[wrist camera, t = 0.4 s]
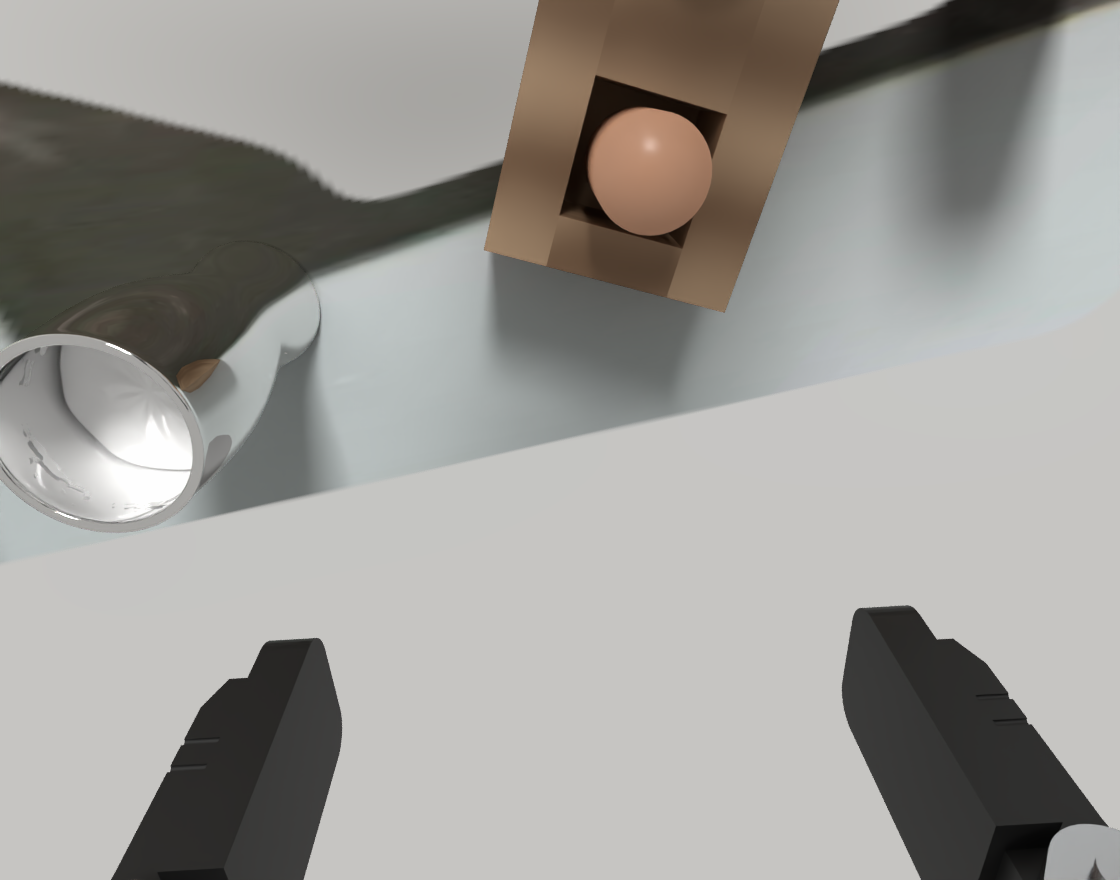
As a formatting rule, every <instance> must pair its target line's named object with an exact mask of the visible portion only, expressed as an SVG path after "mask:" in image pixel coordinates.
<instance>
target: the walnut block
mask: <svg viewBox="0 0 1120 880" xmlns="http://www.w3.org/2000/svg"><path fill="white" fill-rule="evenodd" d="M838 3H839V0H539V3H538V7H537V12H536V16H535V21H534V26H533V30H532V35H531V39H530V44H529V48H528V53H527V57H526V62H525V67H524V71H523V75H522V80H521V84H520V89H519V93H518V98H517V103H516V107H515V112H514V116H513V121H512V125H511V130H510V134H509V139H508V143H507V148H506V152H505V157H504V161H503V166H502V170H501V175H500V179H499V184H498V188H497V193H496V197H495V202H494V207H493V211H492V216H491V220H490V225H489V229H488V234H487V238H486V243H485V247H484V250H485V251H489V252H493V253H497V254H501V255H504V256H508V257H512V258H516V259H520V260H524V261H528V262H531V263H535V264H539V265H543V266H547V267H551V268H554V269H558V270H562V271H566V272H570V273H574V274H578V275H581V276H585V277H589V278H593V279H597V280H601V281H605V282H608V283H612V284H616V285H620V286H624V287H628V288H632V289H635V290H639V291H643V292H647V293H651V294H655V295H659V296H662V297H666V298H670V299H674V300H678V301H682V302H686V303H689V304H693V305H697V306H701V307H705V308H709V309H712V310H716V311H720V312H724V313H725V310H726V307H727V305H728V302H729V299H730V296H731V294H732V291H733V288H734V286H735V283H736V280H737V277H738V275H739V272H740V269H741V266H742V264H743V261H744V258H745V256H746V253H747V250H748V247H749V245H750V242H751V239H752V237H753V234H754V231H755V228H756V226H757V223H758V220H759V218H760V215H761V212H762V209H763V207H764V204H765V201H766V199H767V196H768V193H769V190H770V188H771V185H772V182H773V179H774V177H775V174H776V171H777V169H778V166H779V163H780V160H781V158H782V155H783V152H784V150H785V147H786V144H787V141H788V139H789V136H790V133H791V131H792V128H793V125H794V122H795V120H796V117H797V114H798V112H799V109H800V106H801V103H802V101H803V98H804V95H805V93H806V90H807V87H808V84H809V82H810V79H811V76H812V73H813V71H814V68H815V65H816V63H817V60H818V57H819V54H820V52H821V49H822V46H823V43H824V41H825V38H826V35H827V33H828V30H829V27H830V25H831V21H832V19H833V16H834V14H835V11H836V8H837V6H838ZM635 106H642V107H649V108H653V109H658V110H663V111H668V112H672V113H675V114H677V115H680V116H682V117H683V118H685V119H687V120H688V121H689V122H691V123H692V124H693V125H694V126H695V127H696V128H697V129H698V130H699V131H700V133H701V134H702V135H703V137H704V139H705V141H706V143H707V145H708V148H709V150H710V155H711V159H712V179H711V184H710V188H709V191H708V194H707V196H706V199H705V201H704V202H703V204H702V206H701V207H700V209H699V210H698V212H697V213H696V214H695V215H694V216H693V217H692V218H691V219H690V220H689V221H688V222H686V223H685V224H684V225H682V226H681V227H679V228H677V229H675V230H673V231H671V232H668V233H665V234H660V235H652V236H648V235H639V234H635V233H632V232H629V231H627V230H625V229H623V228H621V227H620V226H618V225H617V224H615V223H614V222H613V221H612V220H611V219H610V218H609V217H608V215H607V214H606V213H605V211H604V210H603V208H602V207H601V205H600V203H599V201H598V200H597V198H596V196H595V194H594V193H593V191H592V189H591V187H590V185H589V183H588V179H587V176H586V170H585V155H586V150H587V146H588V143H589V141H590V138H591V136H592V134H593V133H594V131H595V130H596V128H597V127H598V126H599V124H600V123H601V122H602V121H603V120H604V119H606V118H607V117H608V116H610V115H611V114H613V113H614V112H616V111H618V110H621V109H624V108H628V107H635Z"/></svg>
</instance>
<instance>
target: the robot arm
mask: <svg viewBox="0 0 1120 880" xmlns="http://www.w3.org/2000/svg"><path fill="white" fill-rule="evenodd" d="M842 698H843V705H844V711H845V714H846V718H847V721H848V724H849V727H850V729H851V731H852V733H853V735H854V738H855V739H856V742H857V744H858V746H859V748H860V750H861V752H862V754H863V757H864V759H865V761H866V763H867V765H868V767H869V770H870V772H871V774H872V776H873V778H874V780H875V782H876V784H877V786H878V788H879V791H880V793H881V795H882V797H883V799H884V802H885V803H886V806H887V808H888V810H889V812H890V814H891V816H892V819H893V821H894V823H895V825H896V827H897V829H898V831H899V833H900V836H901V838H902V840H903V842H904V844H905V846H906V848H907V850H908V853H909V855H910V857H911V859H912V861H913V863H914V865H915V867H916V870H917V872H918V874H919V876H920V878H921V880H1120V831H1119V830H1117V829H1114V828H1109V827H1108V825H1107V824H1106V823H1105V822H1104V821H1103V820H1102V818H1101V817H1100V816H1099V814H1098V813H1097V811H1096V810H1095V809H1094V807H1093V806H1092V805H1091V804H1090V802H1089V801H1088V799H1087V798H1086V797H1085V795H1084V794H1083V793H1082V792H1081V790H1080V789H1079V787H1078V786H1077V785H1076V783H1075V782H1074V781H1073V779H1072V778H1071V777H1070V775H1069V774H1068V773H1067V771H1066V770H1065V769H1064V767H1063V766H1062V765H1061V763H1060V762H1059V761H1058V759H1057V758H1056V757H1055V755H1054V754H1053V752H1052V751H1051V750H1050V748H1049V747H1048V746H1047V744H1046V743H1045V742H1044V740H1043V739H1042V738H1041V736H1040V735H1039V734H1038V732H1037V731H1036V730H1035V728H1034V727H1033V726H1032V725H1031V724H1030V725H1029V724H1028V723H1027V718H1026V716H1025V715H1024V714H1023V712H1022V711H1021V709H1020V708H1019V707H1018V705H1017V704H1016V703H1015V701H1014V700H1013V699H1009V697H1008V692H1007V691H1006V689H1005V688H1004V687H1003V685H1002V684H1001V683H1000V681H999V680H998V679H997V677H996V676H995V675H994V673H993V672H992V671H991V669H990V668H989V667H988V665H987V664H986V663H985V662H984V661H982V660H981V659H979V658H978V657H977V656H975V655H974V654H973V653H971V652H970V651H969V650H967V649H966V648H965V647H963V646H962V645H961V644H959V643H958V642H957V641H955V640H954V639H939V640H937V639H936V638H935V636H934V635H933V633H932V632H931V631H930V629H929V627H928V626H927V625H926V623H925V622H924V620H923V619H922V617H921V616H920V614H919V613H918V612H917V611H916V610H915V609H914V608H913V607H911V606H908V605H906V606H890V607H872V608H859V609H857V610H856V612H855V613H854V616H853V620H852V626H851V632H850V638H849V645H848V651H847V657H846V663H845V669H844V676H843V682H842ZM341 738H342V718H341V711H340V707H339V703H338V699H337V695H336V691H335V687H334V683H333V679H332V675H331V671H330V667H329V663H328V659H327V655H326V651H325V648H324V645H323V643H322V641H321V640H320V639H319V638H311V639H294V640H276V641H268V642H266V643H265V644H264V645H263V647H262V649H261V650H260V653H259V655H258V657H257V659H256V661H255V663H254V665H253V668H252V670H251V672H250V674H249V676H248V678H238V679H229V680H228V681H227V682H226V683H225V684H224V685H223V686H222V687H221V688H220V689H219V690H218V691H217V692H216V693H215V694H214V695H213V696H212V697H211V698H210V699H209V700H208V701H207V702H206V703H205V704H204V705H203V706H202V707H201V708H200V710H199V712H198V714H197V716H196V718H195V720H194V722H193V724H192V725H191V727H190V729H189V731H188V733H187V735H186V737H185V743H184V745H182V746H181V747H180V749H179V751H178V752H177V754H176V756H175V758H174V760H173V762H172V764H171V771H170V772H168V773H167V774H166V776H165V777H164V780H163V782H162V783H161V785H160V787H159V789H158V791H157V793H156V795H155V797H154V799H153V801H152V803H151V805H150V807H149V809H148V810H147V812H146V814H145V816H144V818H143V820H142V822H141V824H140V826H139V828H138V830H137V831H136V833H135V835H134V837H133V839H132V841H131V843H130V845H129V847H128V849H127V851H126V853H125V854H124V856H123V859H122V860H121V863H120V864H119V866H118V868H117V870H116V872H115V874H114V875H113V877H112V879H111V880H303V879H304V876H305V872H306V869H307V865H308V862H309V858H310V855H311V851H312V848H313V844H314V841H315V837H316V834H317V830H318V826H319V823H320V820H321V816H322V812H323V809H324V806H325V802H326V799H327V795H328V792H329V788H330V785H331V781H332V777H333V774H334V771H335V767H336V763H337V760H338V756H339V752H340V747H341Z"/></svg>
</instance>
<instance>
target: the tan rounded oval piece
mask: <svg viewBox="0 0 1120 880" xmlns="http://www.w3.org/2000/svg"><path fill="white" fill-rule="evenodd" d="M585 170H586V176H587V179H588V183H589V185H590V187H591V189H592V191H593V193H594V194H595V196H596V198H597V200H598V201H599V203H600V205H601V207H602V208H603V210H604V211H605V213H606V214H607V215H608V217H609V218H610V219H611V220H612V221H613V222H614V223H615V224H617V225H618V226H620V227H621V228H623V229H625V230H627V231H629V232H632V233H635V234H639V235H648V236H652V235H660V234H665V233H668V232H671V231H673V230H675V229H677V228H679V227H681V226H682V225H684V224H685V223H686V222H688V221H689V220H690V219H691V218H692V217H693V216H694V215H695V214H696V213H697V212H698V210H699V209H700V207H701V206H702V204H703V202H704V201H705V199H706V196H707V194H708V191H709V188H710V184H711V179H712V159H711V155H710V150H709V148H708V145H707V143H706V141H705V139H704V137H703V135H702V134H701V133H700V131H699V130H698V129H697V128H696V127H695V126H694V125H693V124H692V123H691V122H689V121H688V120H687V119H685V118H683V117H682V116H680V115H677V114H675V113H672V112H668V111H663V110H658V109H653V108H649V107H642V106H635V107H628V108H624V109H621V110H618V111H616V112H614V113H613V114H611V115H610V116H608V117H607V118H606V119H604V120H603V121H602V122H601V123H600V124H599V126H598V127H597V128H596V130H595V131H594V133H593V134H592V136H591V138H590V141H589V143H588V146H587V150H586V155H585Z"/></svg>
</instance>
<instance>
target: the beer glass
mask: <svg viewBox="0 0 1120 880" xmlns="http://www.w3.org/2000/svg"><path fill="white" fill-rule="evenodd" d="M319 321H320V306H319V300H318V296H317V293H316V290H315V288H314V285H313V283H312V281H311V280H310V278H309V276H308V275H307V274H306V272H305V271H304V270H303V269H302V267H301V266H300V265H299V264H298V263H297V262H296V261H295V260H293V259H292V258H291V257H290V256H288V255H287V254H285V253H284V252H282V251H280V250H278V249H276V248H274V247H272V246H269V245H266V244H263V243H259V242H252V241H235V242H229V243H226V244H223V245H220V246H218V247H216V248H214V249H212V250H211V251H209V252H208V253H207V254H205V255H204V256H203V257H202V258H201V259H200V261H199V262H198V263H197V264H196V266H195V267H194V269H193V270H192V272H189V273H182V274H173V275H166V276H159V277H152V278H146V279H142V280H138V281H134V282H130V283H125V284H122V285H118V286H115V287H113V288H110V289H108V290H105V291H103V292H101V293H98V294H96V295H93V296H91V297H89V298H87V299H85V300H83V301H81V302H79V303H77V304H75V305H74V306H72V307H70V308H68V309H66V310H65V311H63V312H61V313H59V314H58V315H56V316H55V317H53V318H52V319H50V320H49V321H47V322H46V323H44V324H43V325H41V326H40V327H38V328H37V329H35V330H34V331H32V332H31V333H30V334H28V335H27V336H25V337H24V338H23V339H21V340H20V341H17V342H15V343H13V344H11V345H9V346H8V347H6V348H4V349H3V350H1V351H0V480H1V481H2V482H3V483H4V484H5V485H6V486H7V487H8V488H9V489H10V490H11V491H12V492H13V493H14V494H16V495H17V496H18V497H19V498H20V499H22V500H23V501H24V502H26V503H27V504H29V505H30V506H32V507H33V508H35V509H36V510H38V511H40V512H41V513H43V514H45V515H47V516H49V517H51V518H53V519H55V520H58V521H60V522H62V523H65V524H68V525H71V526H74V527H78V528H81V529H86V530H91V531H97V532H109V533H122V532H133V531H138V530H143V529H147V528H150V527H153V526H155V525H158V524H160V523H162V522H164V521H166V520H168V519H169V518H171V517H173V516H174V515H175V514H177V513H178V512H179V511H180V510H181V509H182V508H183V507H184V506H185V505H186V504H187V503H188V502H189V501H190V499H191V498H192V497H193V496H194V495H195V494H196V493H197V492H198V491H199V490H200V489H201V488H203V487H204V486H205V485H206V484H207V483H208V482H209V481H210V480H211V479H212V478H213V477H214V476H215V475H216V474H217V473H218V472H219V471H220V470H221V469H222V468H223V467H224V466H225V465H226V464H227V463H228V462H229V461H230V459H231V458H232V457H233V456H234V455H235V454H236V453H237V452H238V450H239V449H240V448H241V447H242V445H243V444H244V443H245V441H246V440H247V438H248V437H249V435H250V434H251V433H252V431H253V430H254V428H255V427H256V425H257V424H258V422H259V420H260V418H261V416H262V413H263V411H264V409H265V407H266V405H267V403H268V400H269V398H270V395H271V392H272V389H273V386H274V383H275V380H276V377H277V374H278V371H279V368H280V367H281V366H283V365H285V364H287V363H289V362H291V361H293V360H294V359H296V358H297V357H299V356H300V355H301V354H302V353H303V352H304V351H305V350H306V349H307V348H308V347H309V346H310V344H311V343H312V341H313V339H314V338H315V335H316V333H317V330H318V326H319Z"/></svg>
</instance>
